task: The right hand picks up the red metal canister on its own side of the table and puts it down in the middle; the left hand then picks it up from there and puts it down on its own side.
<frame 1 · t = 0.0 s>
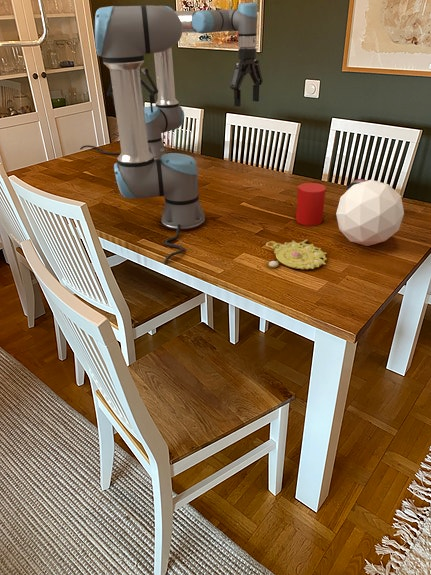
left hand: (246, 103, 191), 28 cm above the table, tool pointing down, fingers open, 13 cm apart
right hand: (135, 113, 181), 28 cm above the table, tool pointing down, fingers open, 13 cm apart
athletic shoe: (364, 207, 163), on the table
sphere: (364, 241, 140), on the table
decorative object: (295, 256, 133), on the table
canister: (308, 220, 155), on the table
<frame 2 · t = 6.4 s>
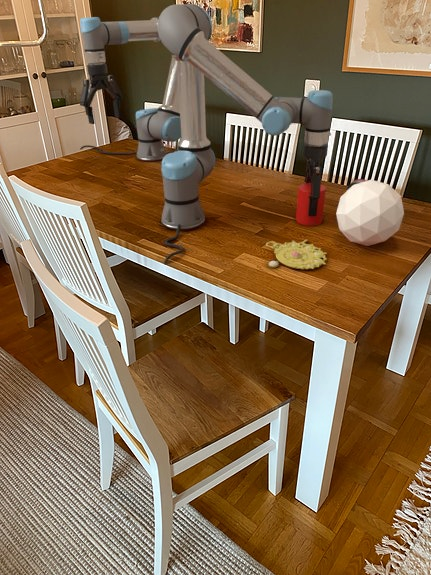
left hand: (105, 120, 184), 25 cm above the table, tool pointing down, fingers open, 13 cm apart
right hand: (309, 210, 153), 4 cm above the table, tool pointing down, fingers closed on canister, 9 cm apart
canister: (308, 220, 155), on the table, touching right hand
everything else where it was.
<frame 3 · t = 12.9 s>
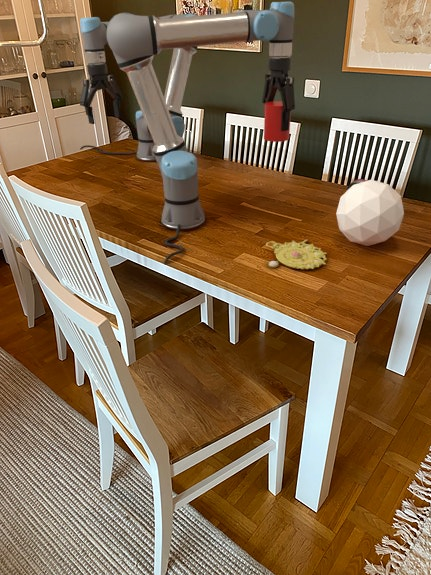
left hand: (105, 120, 184), 25 cm above the table, tool pointing down, fingers open, 13 cm apart
right hand: (276, 127, 158), 27 cm above the table, tool pointing down, fingers closed on canister, 9 cm apart
canister: (276, 138, 160), point 23 cm above the table, touching right hand
everything else where it was.
when the right hand's fingers open (6 cm above the table, at t = 19.4 s): canister drops 2 cm, on the table.
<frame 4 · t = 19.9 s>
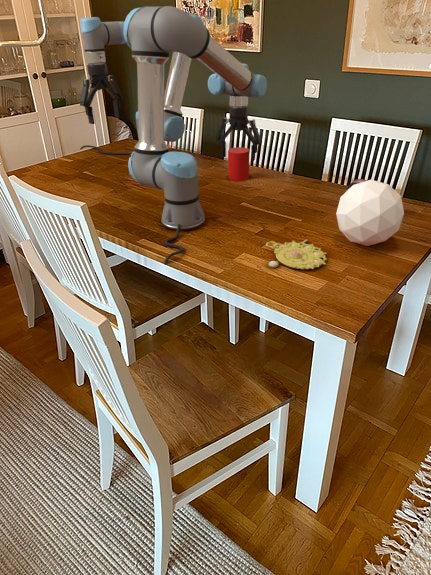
left hand: (105, 120, 184), 25 cm above the table, tool pointing down, fingers open, 13 cm apart
right hand: (238, 159, 190), 8 cm above the table, tool pointing down, fingers open, 13 cm apart
canister: (238, 177, 195), on the table
everything else where it was.
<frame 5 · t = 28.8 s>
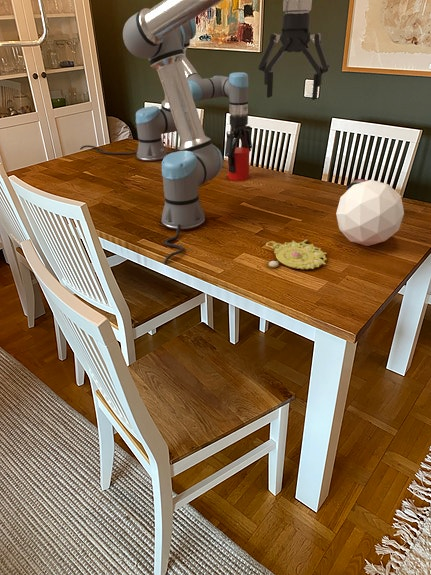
left hand: (238, 169, 193), 4 cm above the table, tool pointing down, fingers closed on canister, 9 cm apart
right hand: (291, 98, 130), 41 cm above the table, tool pointing down, fingers open, 13 cm apart
canister: (238, 177, 195), on the table, touching left hand
everything else where it was.
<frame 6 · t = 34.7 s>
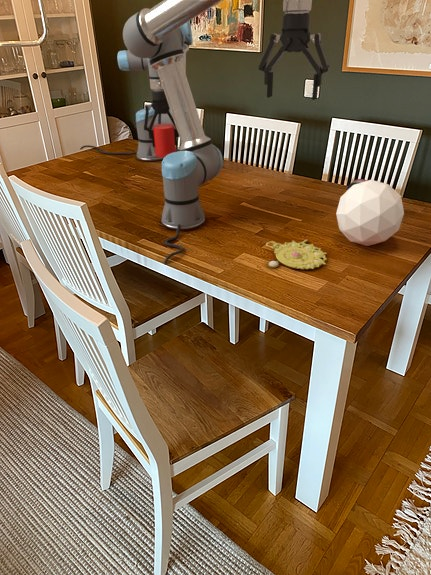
left hand: (165, 145, 192), 14 cm above the table, tool pointing down, fingers closed on canister, 9 cm apart
right hand: (291, 98, 130), 41 cm above the table, tool pointing down, fingers open, 13 cm apart
canister: (165, 154, 194), point 10 cm above the table, touching left hand
everything else where it was.
when the left hand's fingers open (6 cm above the table, at t = 41.0 s): canister drops 2 cm, on the table.
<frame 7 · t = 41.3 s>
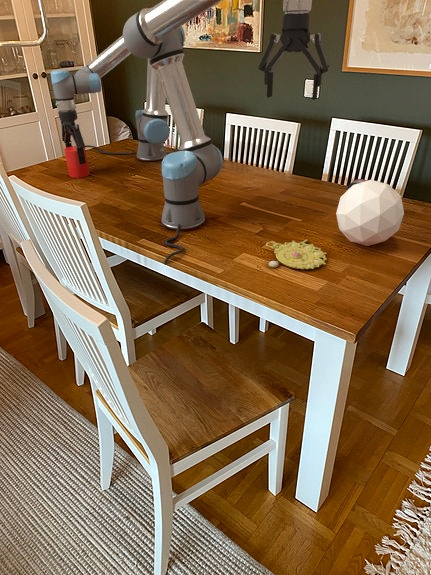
left hand: (76, 160, 201), 7 cm above the table, tool pointing down, fingers open, 12 cm apart
right hand: (291, 98, 130), 41 cm above the table, tool pointing down, fingers open, 13 cm apart
canister: (79, 174, 204), on the table
everything else where it was.
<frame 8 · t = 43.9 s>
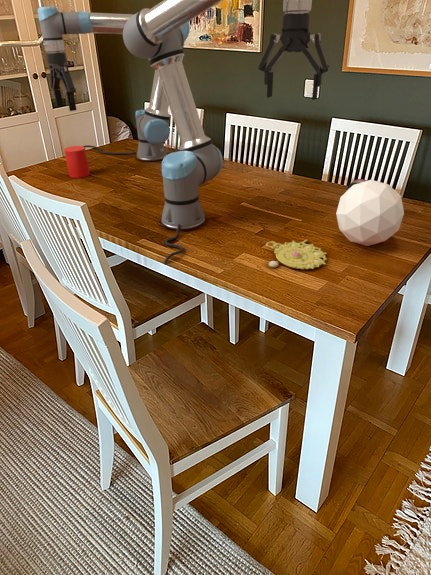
left hand: (66, 108, 188), 29 cm above the table, tool pointing down, fingers open, 13 cm apart
right hand: (291, 98, 130), 41 cm above the table, tool pointing down, fingers open, 13 cm apart
nothing on the table moved.
at the end: canister inside the target area (0.0 cm from its centre), on the table; canister tilted 0°; the two hands never held the canister at the same time; the left hand is holding nothing; the right hand is holding nothing; canister at rest at the end (0.0 cm/s) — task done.
